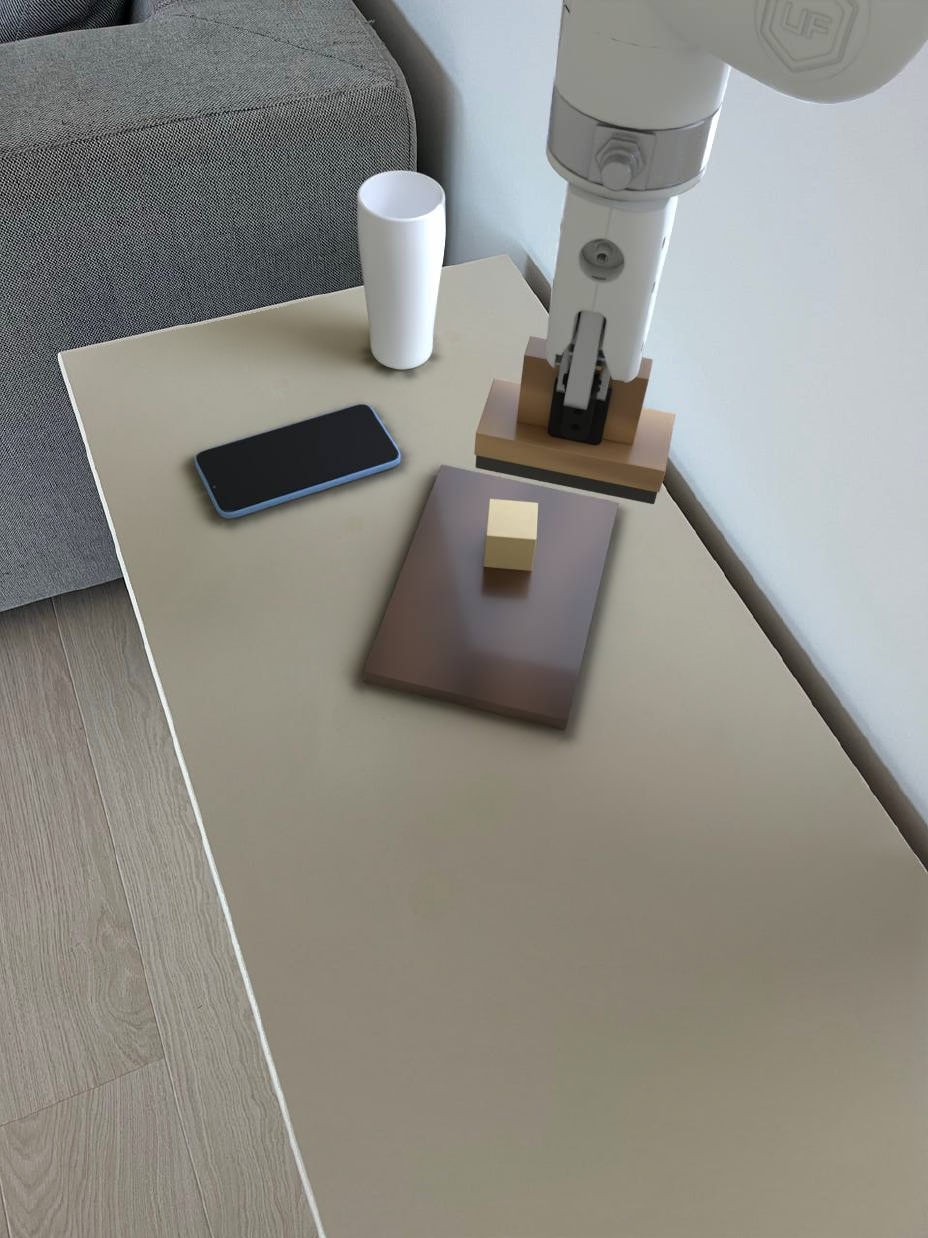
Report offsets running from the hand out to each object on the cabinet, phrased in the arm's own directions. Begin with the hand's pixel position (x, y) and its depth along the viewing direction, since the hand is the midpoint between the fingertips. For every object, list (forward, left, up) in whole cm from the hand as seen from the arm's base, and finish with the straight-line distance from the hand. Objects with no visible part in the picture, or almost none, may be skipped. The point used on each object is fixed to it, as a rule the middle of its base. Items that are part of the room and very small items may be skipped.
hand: (578, 421), depth 64 cm
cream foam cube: (+4, -3, -16) cm, 17 cm away
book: (+4, 0, -17) cm, 18 cm away
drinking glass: (+18, -23, -18) cm, 34 cm away
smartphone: (+22, -8, -17) cm, 29 cm away
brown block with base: (0, 0, -3) cm, 3 cm away
